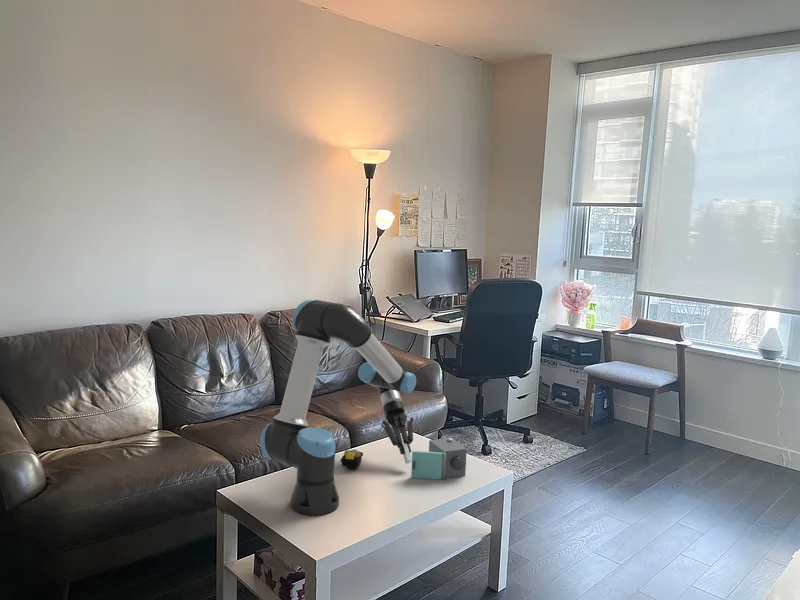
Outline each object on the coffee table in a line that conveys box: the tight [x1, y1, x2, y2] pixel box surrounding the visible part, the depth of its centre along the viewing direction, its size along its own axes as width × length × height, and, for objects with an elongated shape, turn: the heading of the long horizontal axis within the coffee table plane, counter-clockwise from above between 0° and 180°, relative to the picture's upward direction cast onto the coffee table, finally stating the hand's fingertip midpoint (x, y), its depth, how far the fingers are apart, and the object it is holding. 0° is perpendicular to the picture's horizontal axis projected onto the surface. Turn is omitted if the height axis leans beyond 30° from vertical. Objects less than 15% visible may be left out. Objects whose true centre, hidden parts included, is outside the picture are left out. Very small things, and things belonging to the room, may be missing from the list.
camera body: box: [428, 437, 467, 479], centre depth 221 cm, size 9×14×11 cm, turn 23°
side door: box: [410, 450, 446, 481], centre depth 214 cm, size 12×2×10 cm, turn 85°
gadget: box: [340, 448, 364, 469], centre depth 224 cm, size 6×13×6 cm, turn 173°
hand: (408, 461), depth 220 cm, fingers closed
